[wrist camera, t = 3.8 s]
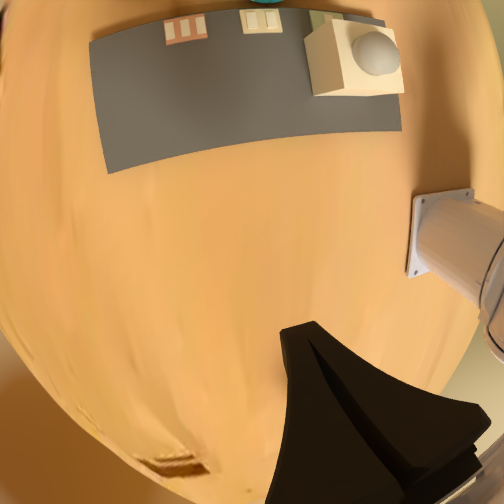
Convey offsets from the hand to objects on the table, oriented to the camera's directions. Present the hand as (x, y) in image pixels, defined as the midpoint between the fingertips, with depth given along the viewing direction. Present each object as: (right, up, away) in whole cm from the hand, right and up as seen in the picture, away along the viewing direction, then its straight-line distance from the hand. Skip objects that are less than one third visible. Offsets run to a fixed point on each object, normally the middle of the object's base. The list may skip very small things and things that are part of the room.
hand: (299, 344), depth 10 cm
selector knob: (+4, +15, +4) cm, 16 cm away
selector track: (-2, +15, +5) cm, 15 cm away
